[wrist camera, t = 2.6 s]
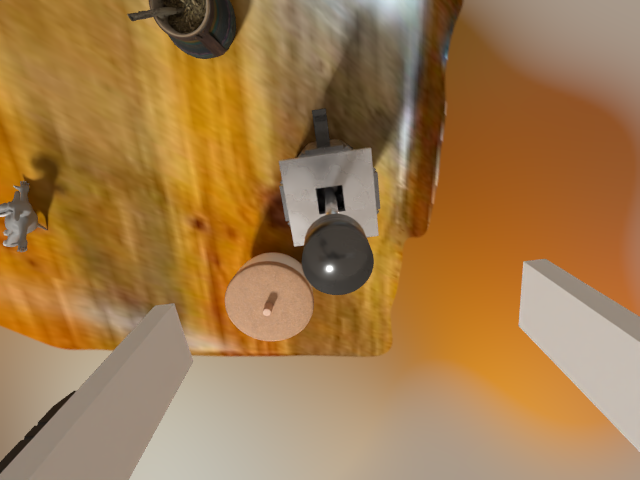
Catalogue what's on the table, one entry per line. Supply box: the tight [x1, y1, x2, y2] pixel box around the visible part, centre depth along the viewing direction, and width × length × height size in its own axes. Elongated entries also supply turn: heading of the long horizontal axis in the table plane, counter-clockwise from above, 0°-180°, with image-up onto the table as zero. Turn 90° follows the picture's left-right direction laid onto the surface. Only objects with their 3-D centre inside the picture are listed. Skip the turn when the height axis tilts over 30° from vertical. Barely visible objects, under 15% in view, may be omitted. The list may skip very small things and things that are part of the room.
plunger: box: [302, 185, 374, 295], centre depth 25 cm, size 6×6×18 cm
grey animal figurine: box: [0, 181, 47, 252], centre depth 41 cm, size 10×6×9 cm
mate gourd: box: [128, 0, 236, 59], centre depth 31 cm, size 7×8×10 cm
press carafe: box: [279, 108, 380, 247], centre depth 35 cm, size 12×9×13 cm
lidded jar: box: [225, 252, 314, 341], centre depth 42 cm, size 11×11×9 cm
